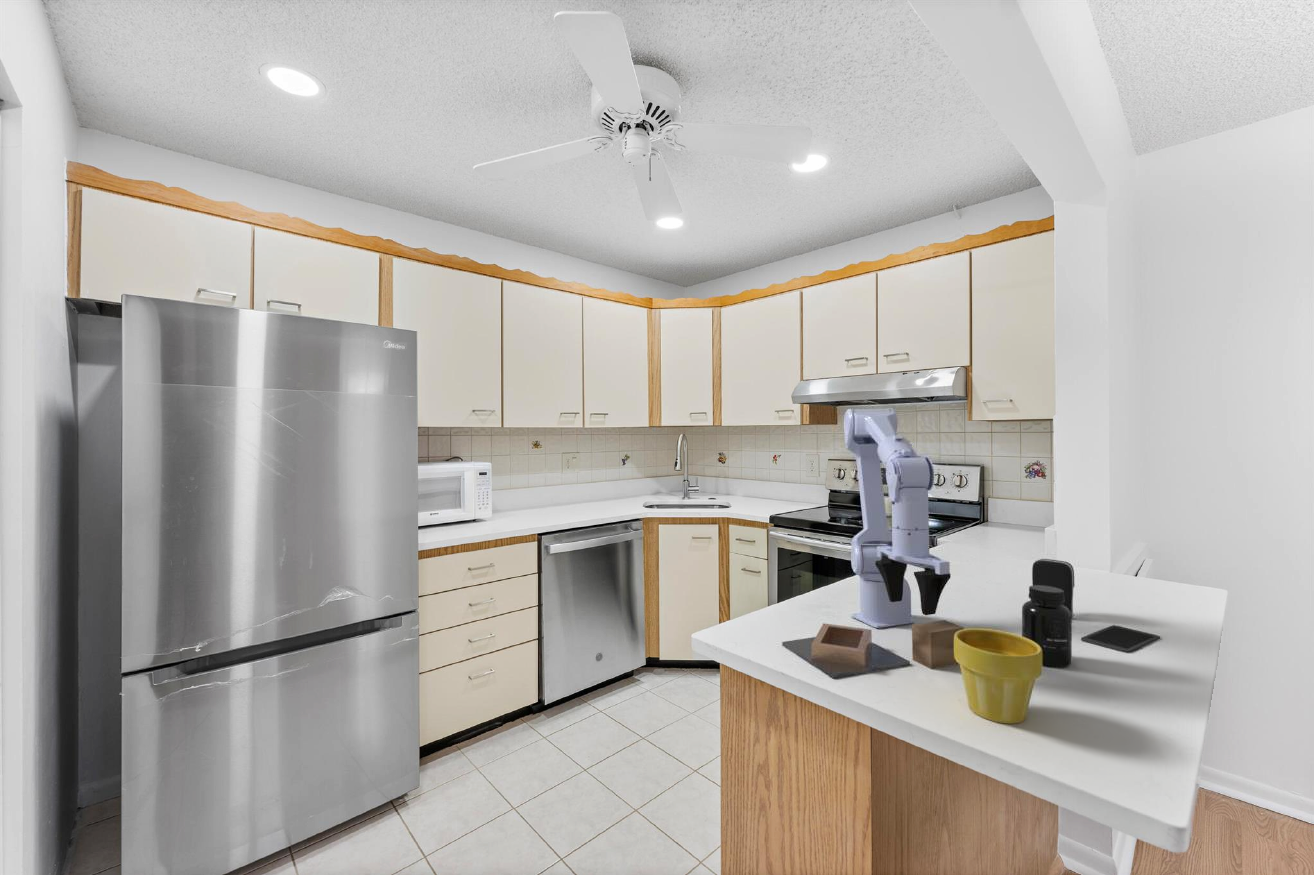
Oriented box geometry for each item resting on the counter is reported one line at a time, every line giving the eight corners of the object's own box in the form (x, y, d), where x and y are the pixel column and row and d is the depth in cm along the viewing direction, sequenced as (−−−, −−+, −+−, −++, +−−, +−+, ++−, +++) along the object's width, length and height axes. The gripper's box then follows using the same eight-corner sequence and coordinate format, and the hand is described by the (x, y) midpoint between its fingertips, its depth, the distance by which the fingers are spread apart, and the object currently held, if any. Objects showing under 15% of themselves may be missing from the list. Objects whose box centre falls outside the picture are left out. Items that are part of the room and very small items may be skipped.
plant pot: (1058, 716, 74) (1056, 643, 74) (1021, 740, 68) (1019, 661, 68) (978, 687, 82) (977, 622, 82) (939, 707, 77) (938, 637, 77)
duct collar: (850, 634, 105) (850, 618, 105) (909, 664, 91) (909, 646, 91) (782, 645, 101) (781, 628, 101) (833, 678, 86) (832, 659, 86)
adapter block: (912, 660, 93) (911, 624, 93) (944, 654, 95) (944, 619, 95) (931, 669, 89) (930, 632, 89) (964, 663, 92) (963, 627, 92)
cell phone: (1162, 640, 101) (1162, 635, 101) (1128, 655, 94) (1128, 651, 94) (1113, 628, 107) (1113, 624, 107) (1078, 642, 101) (1078, 638, 101)
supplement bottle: (1058, 671, 87) (1056, 596, 87) (1013, 657, 94) (1012, 586, 94) (1081, 663, 91) (1079, 590, 91) (1036, 649, 97) (1035, 581, 97)
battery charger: (1076, 616, 114) (1075, 561, 114) (1072, 620, 111) (1071, 564, 111) (1036, 609, 119) (1035, 556, 119) (1031, 613, 116) (1030, 558, 116)
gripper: (862, 523, 100) (863, 598, 100) (923, 536, 86) (925, 623, 86) (894, 520, 102) (895, 594, 102) (959, 533, 88) (961, 618, 88)
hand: (911, 607), depth 94 cm, fingers open, 7 cm apart
